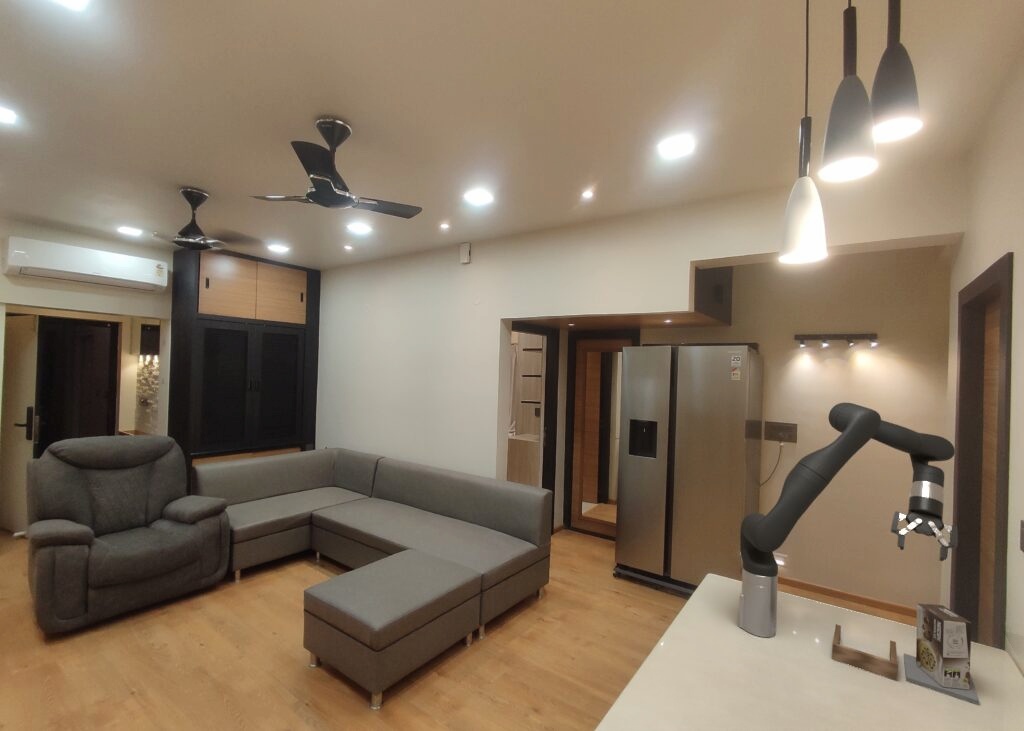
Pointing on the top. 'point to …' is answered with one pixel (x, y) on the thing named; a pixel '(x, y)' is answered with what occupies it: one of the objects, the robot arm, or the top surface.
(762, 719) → the top surface
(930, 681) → the charcoal mat
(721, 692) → the top surface
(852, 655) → the walnut holder
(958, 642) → the coffee box
